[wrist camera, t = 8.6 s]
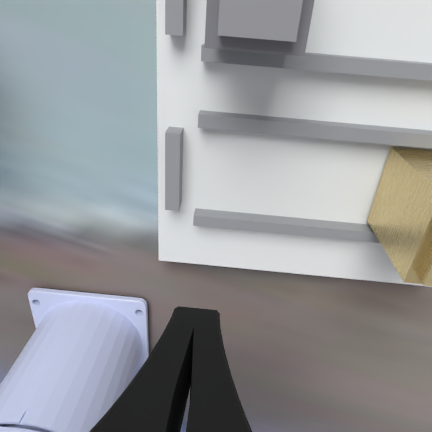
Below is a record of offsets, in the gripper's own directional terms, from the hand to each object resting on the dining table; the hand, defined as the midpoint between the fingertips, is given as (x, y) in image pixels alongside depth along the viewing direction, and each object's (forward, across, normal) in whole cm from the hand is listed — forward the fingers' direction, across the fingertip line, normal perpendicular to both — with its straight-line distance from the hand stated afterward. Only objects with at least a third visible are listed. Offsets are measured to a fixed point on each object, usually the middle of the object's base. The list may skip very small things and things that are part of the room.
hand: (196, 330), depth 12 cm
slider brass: (+9, -10, -2) cm, 13 cm away
